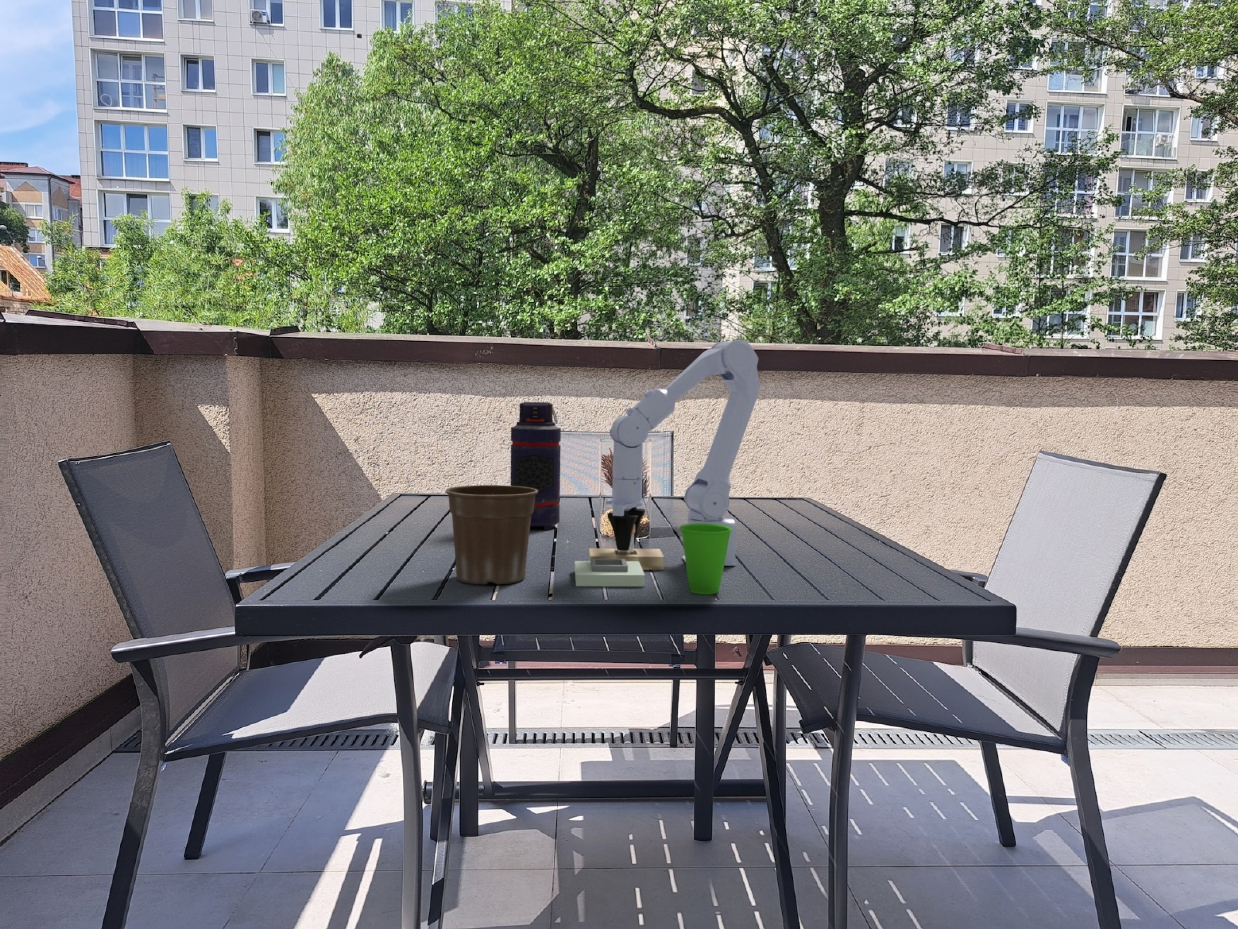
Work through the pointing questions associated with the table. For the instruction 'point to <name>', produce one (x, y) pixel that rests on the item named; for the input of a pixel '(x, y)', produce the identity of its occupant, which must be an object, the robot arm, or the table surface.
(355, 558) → the table surface
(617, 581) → the socket
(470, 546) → the plant pot
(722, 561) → the cup
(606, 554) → the mount
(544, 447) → the red-banded navy canister
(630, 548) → the pin
